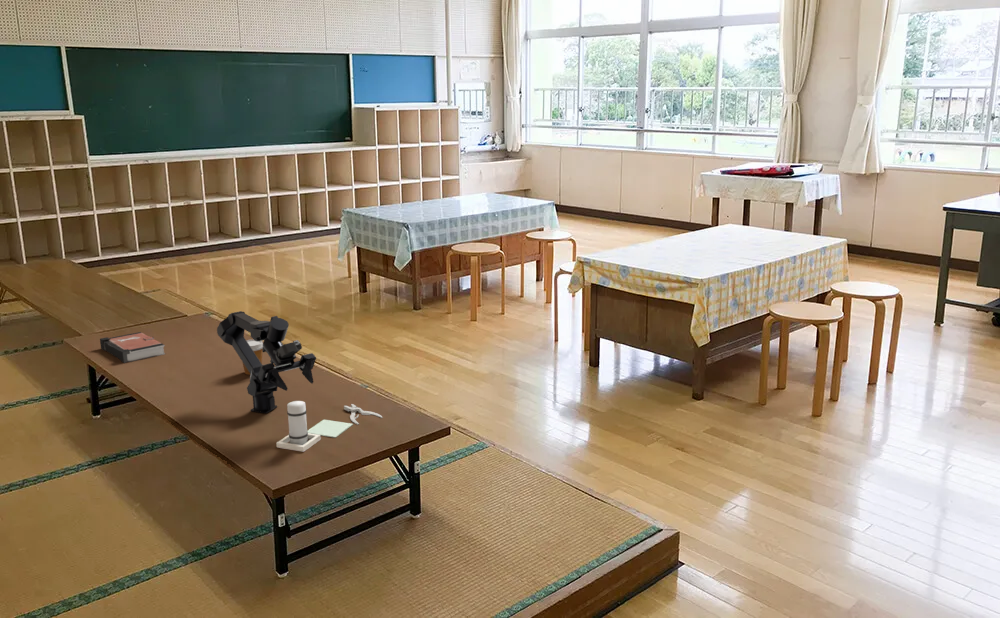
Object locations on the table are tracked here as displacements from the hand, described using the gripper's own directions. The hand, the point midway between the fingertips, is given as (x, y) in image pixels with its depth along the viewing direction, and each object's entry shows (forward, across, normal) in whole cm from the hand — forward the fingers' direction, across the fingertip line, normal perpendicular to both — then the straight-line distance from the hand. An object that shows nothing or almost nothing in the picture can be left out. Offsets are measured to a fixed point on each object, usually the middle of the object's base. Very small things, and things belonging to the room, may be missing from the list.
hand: (299, 386), depth 256 cm
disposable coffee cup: (-45, +16, +47) cm, 67 cm away
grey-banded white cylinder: (+15, -6, +9) cm, 18 cm away
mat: (+12, +7, +11) cm, 17 cm away
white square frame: (+15, -6, +9) cm, 18 cm away
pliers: (+9, +21, +13) cm, 26 cm away
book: (-95, -8, +79) cm, 124 cm away
